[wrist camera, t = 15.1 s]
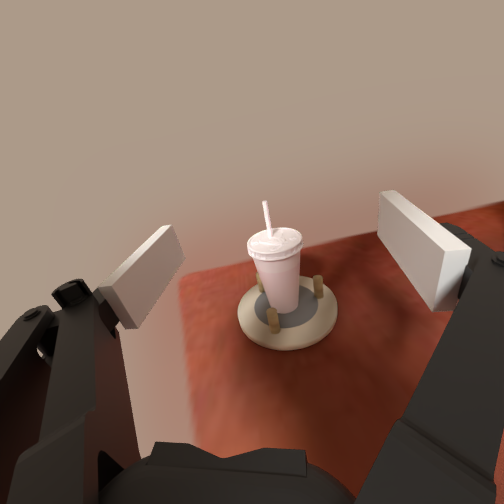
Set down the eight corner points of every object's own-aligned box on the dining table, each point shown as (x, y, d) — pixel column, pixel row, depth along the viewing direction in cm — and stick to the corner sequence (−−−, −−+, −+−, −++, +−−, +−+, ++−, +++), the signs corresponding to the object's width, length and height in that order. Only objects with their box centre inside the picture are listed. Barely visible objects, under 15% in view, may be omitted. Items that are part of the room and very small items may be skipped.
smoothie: (286, 282, 36) (272, 190, 29) (319, 302, 31) (312, 196, 24) (251, 304, 33) (227, 207, 26) (282, 330, 28) (262, 218, 21)
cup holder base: (341, 284, 35) (341, 260, 33) (331, 361, 25) (330, 334, 23) (258, 277, 40) (254, 257, 38) (222, 338, 30) (214, 315, 28)
